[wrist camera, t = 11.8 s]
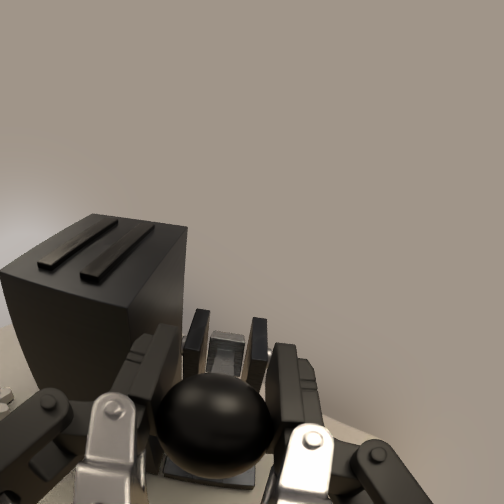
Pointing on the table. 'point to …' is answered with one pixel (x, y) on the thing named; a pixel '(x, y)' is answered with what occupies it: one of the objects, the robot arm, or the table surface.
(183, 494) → the table surface
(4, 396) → the game controller
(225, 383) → the toaster lever
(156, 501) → the table surface
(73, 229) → the toaster
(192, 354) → the lever bracket
